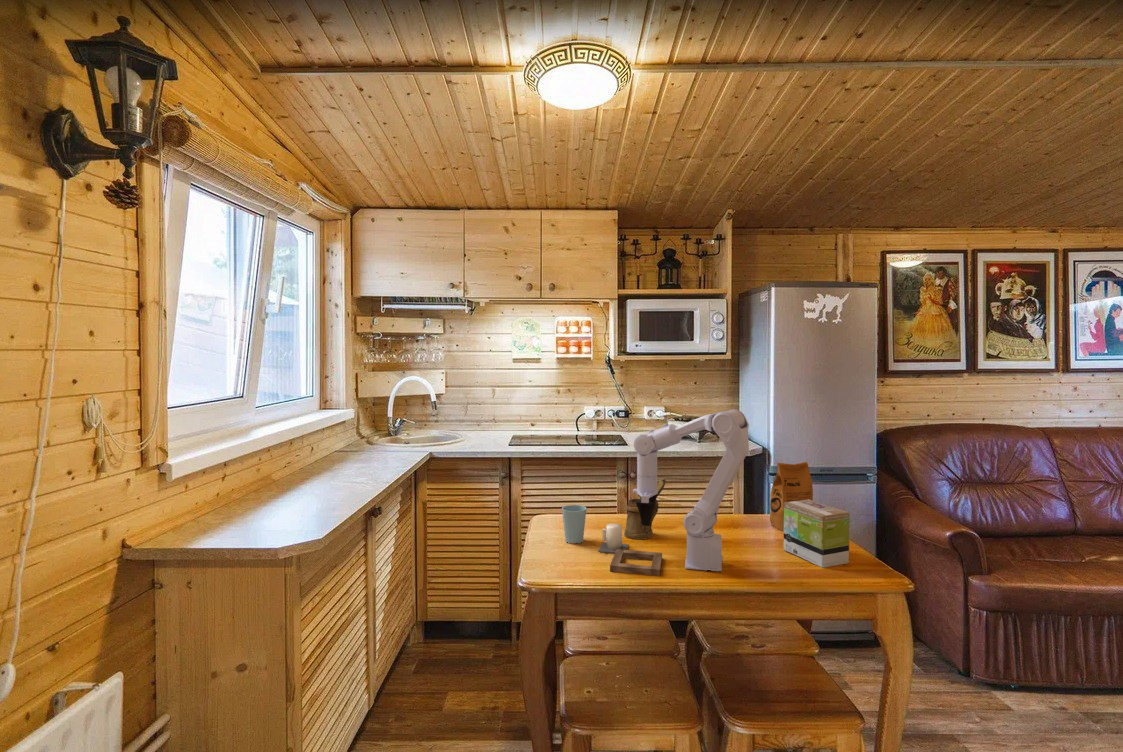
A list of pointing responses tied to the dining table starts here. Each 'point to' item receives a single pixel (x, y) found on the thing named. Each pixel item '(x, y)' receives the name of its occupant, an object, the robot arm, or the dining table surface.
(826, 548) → the tea box
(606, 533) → the jug
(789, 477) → the coffee package
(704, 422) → the robot arm
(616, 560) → the jug holder
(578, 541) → the cup
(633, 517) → the wooden mug
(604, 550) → the mat
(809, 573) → the dining table surface
